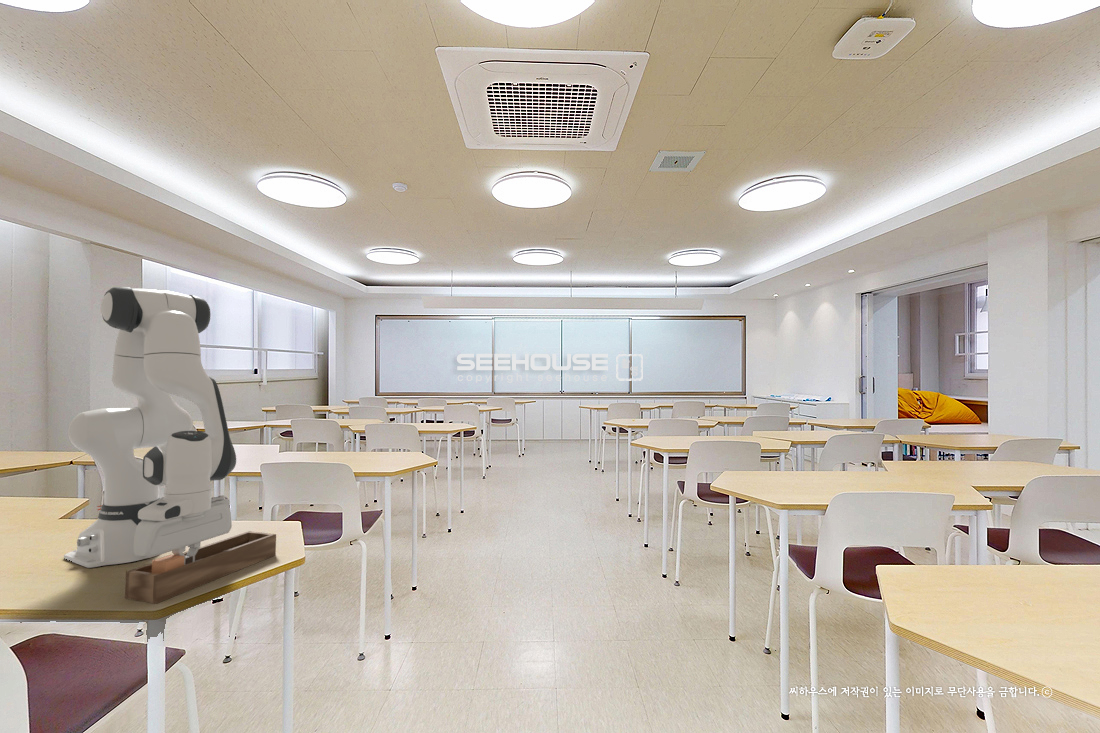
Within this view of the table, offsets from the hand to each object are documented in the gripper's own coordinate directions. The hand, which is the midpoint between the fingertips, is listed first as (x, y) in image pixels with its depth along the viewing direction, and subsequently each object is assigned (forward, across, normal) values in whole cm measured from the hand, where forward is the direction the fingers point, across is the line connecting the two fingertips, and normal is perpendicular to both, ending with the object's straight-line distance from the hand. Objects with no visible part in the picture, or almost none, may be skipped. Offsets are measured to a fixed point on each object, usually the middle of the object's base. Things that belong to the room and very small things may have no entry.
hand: (185, 564), depth 110 cm
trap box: (+4, -6, 0) cm, 7 cm away
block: (+1, +4, 0) cm, 4 cm away
